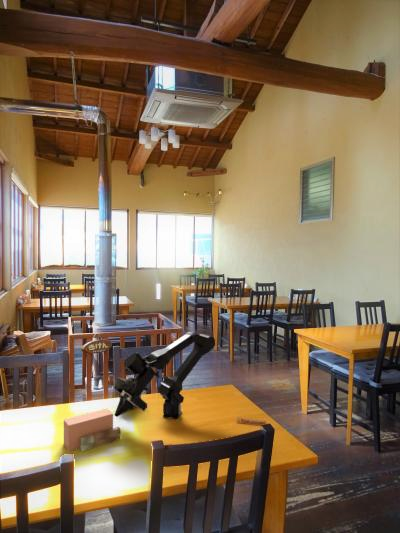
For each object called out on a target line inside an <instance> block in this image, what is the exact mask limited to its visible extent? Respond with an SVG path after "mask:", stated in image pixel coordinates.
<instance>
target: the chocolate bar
mask: <svg viewBox="0 0 400 533" xmlns="http://www.w3.org/2000/svg"><path fill="white" fill-rule="evenodd" d="M243 423H246V424H245V425H251V426H252V425H254V426H261V425H262V424H267V423H268V421H267V419H266V420H265V419H256V418H247V417H239V416H238V417H237V416H236V424H243Z"/></svg>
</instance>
